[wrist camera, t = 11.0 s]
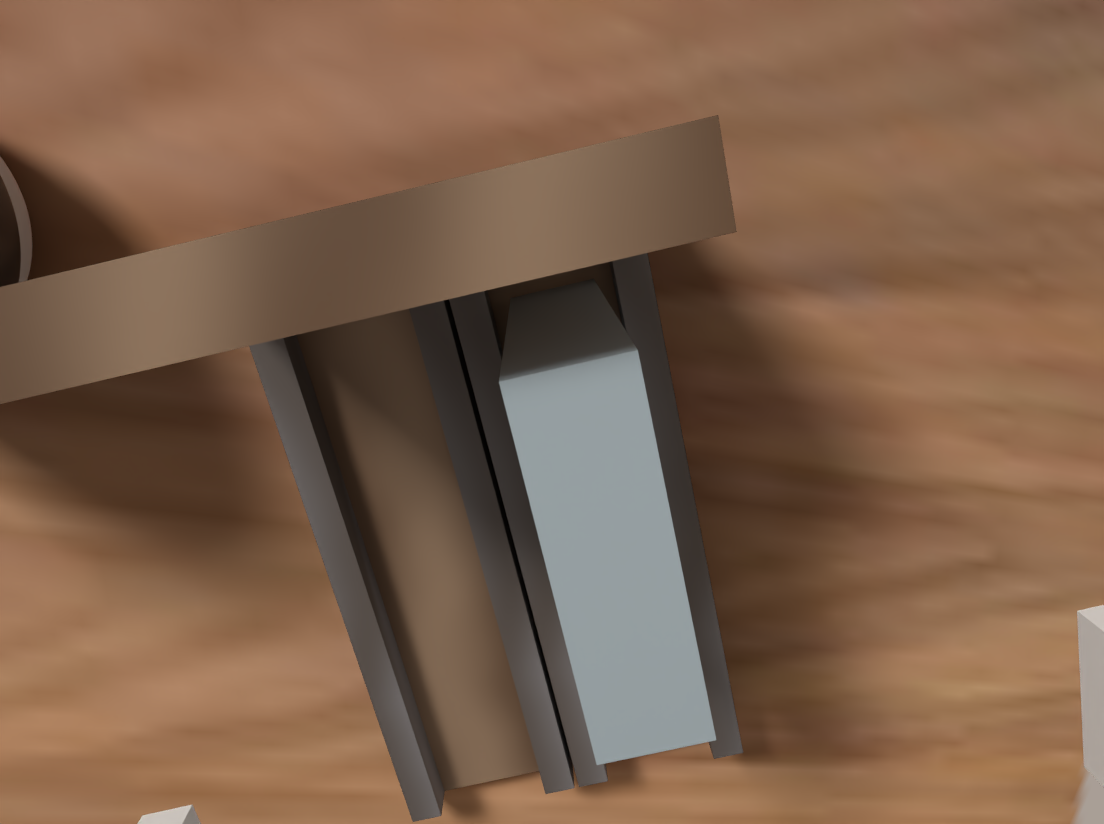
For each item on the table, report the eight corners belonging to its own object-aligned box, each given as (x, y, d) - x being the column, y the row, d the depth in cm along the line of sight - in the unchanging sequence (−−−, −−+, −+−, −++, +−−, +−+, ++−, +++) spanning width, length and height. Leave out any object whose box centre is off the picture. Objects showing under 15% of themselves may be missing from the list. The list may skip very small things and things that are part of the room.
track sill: (418, 780, 35) (342, 1194, 21) (236, 237, 29) (-59, 301, 14) (731, 714, 35) (873, 1092, 21) (621, 145, 28) (717, 115, 14)
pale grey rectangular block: (571, 548, 31) (596, 765, 20) (510, 298, 29) (498, 382, 17) (647, 531, 31) (716, 739, 20) (593, 278, 28) (637, 350, 17)
